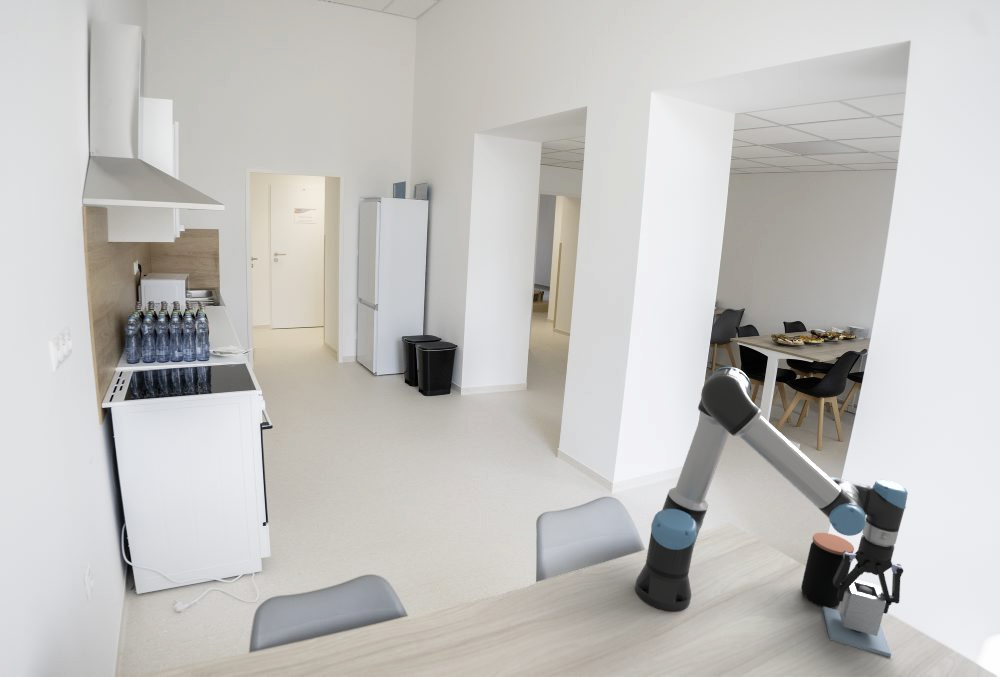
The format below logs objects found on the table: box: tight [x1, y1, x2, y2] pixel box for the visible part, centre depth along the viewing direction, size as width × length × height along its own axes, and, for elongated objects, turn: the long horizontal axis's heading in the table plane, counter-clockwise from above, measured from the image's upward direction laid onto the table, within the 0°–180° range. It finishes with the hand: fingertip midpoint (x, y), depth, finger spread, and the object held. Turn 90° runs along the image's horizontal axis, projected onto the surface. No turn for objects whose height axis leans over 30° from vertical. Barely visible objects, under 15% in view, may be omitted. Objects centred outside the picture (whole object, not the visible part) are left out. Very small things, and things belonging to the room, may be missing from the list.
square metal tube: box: [837, 579, 886, 636], centre depth 166 cm, size 8×8×10 cm
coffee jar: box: [800, 532, 855, 609], centre depth 180 cm, size 11×11×18 cm
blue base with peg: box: [822, 586, 892, 658], centre depth 166 cm, size 14×14×13 cm
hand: (858, 616), depth 166 cm, fingers closed on square metal tube, 8 cm apart
